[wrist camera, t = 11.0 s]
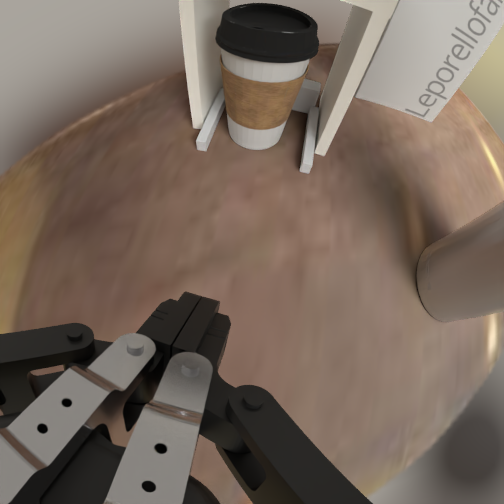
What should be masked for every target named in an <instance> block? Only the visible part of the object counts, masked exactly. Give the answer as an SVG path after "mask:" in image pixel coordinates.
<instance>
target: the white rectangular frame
mask: <svg viewBox="0 0 504 504" xmlns="http://www.w3.org/2000/svg"><path fill="white" fill-rule="evenodd" d="M341 1H344V2H347V3H350V4H353V7H352V10H351V13H350V16H349V18H348V21H347V24H346V27H345V30H344V33H343V36H342V39H341V41H340V44H339V47H338V50H337V53H336V56H335V59H334V61H333V64H332V67H331V70H330V73H329V75H328V78H327V81H326V84H325V87H324V89H323V92H322V95H321V98H320V104H319V108H318V107H315V105H316V102H317V99H318V97H319V94H320V87H321V83H319V82H316V81H312V80H308V79H304V81H303V84H302V86H301V88H300V91H299V93H298V95H297V98H296V100H295V103H294V105H293V107H292V110H295V111H299V112H303V113H307V114H308V118H307V125H306V132H305V139H304V145H303V152H302V158H301V164H300V172H304V173H307V174H309V172H310V170H311V168H312V164H313V156H314V153H315V154H318V155H322V156H325V154H326V152H327V150H328V148H329V146H330V144H331V142H332V140H333V138H334V136H335V134H336V131H337V129H338V127H339V125H340V123H341V121H342V119H343V117H344V115H345V113H346V111H347V109H348V107H349V104H350V102H351V100H352V98H353V96H354V94H355V92H356V90H357V88H358V85H359V83H360V81H361V79H362V77H363V75H364V73H365V70H366V68H367V66H368V64H369V62H370V60H371V57H372V55H373V53H374V51H375V49H376V46H377V44H378V42H379V40H380V38H381V35H382V33H383V31H384V29H385V26H386V24H387V22H388V20H389V19H391V16H392V14H393V12H394V10H395V7H396V5H397V3H398V0H341ZM228 9H229V0H179V11H180V22H181V32H182V41H183V51H184V60H185V69H186V77H187V85H188V93H189V101H190V108H191V115H192V122H193V128H196V129H201V131H200V133H199V135H198V138H197V140H196V144H197V150H202V151H207V148H208V146H209V143H210V141H211V138H212V136H213V133H214V131H215V129H216V126H217V124H218V122H219V119H220V117H221V115H222V112H223V110H224V108H225V106H226V104H225V96H224V89H223V81H222V74H221V66H220V55H221V47H219V45H218V44H217V43H216V39H215V37H216V32H217V28H218V27H219V26H220V24H221V18H222V14H223V12H224V11H226V10H228ZM318 112H319V114H318ZM317 122H318V124H317ZM316 131H317V133H316ZM315 140H316V141H315ZM314 148H315V150H314Z"/></svg>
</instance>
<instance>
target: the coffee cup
mask: <svg viewBox="0 0 504 504" xmlns="http://www.w3.org/2000/svg"><path fill="white" fill-rule="evenodd" d="M215 39H216V43H217V44H218V45H219V47H221V55H220V66H221V74H222V81H223V89H224V96H225V104H226V110H227V118H228V128H229V134H230V136H231V138H232V139H233V140H234V142H236V143H237V144H238V145H240V146H242V147H244V148H247V149H252V150H261V149H266V148H269V147H271V146H273V145H275V144H276V143H277V142H278V141H279V139H280V137H281V135H282V132H283V129H284V127H285V124H286V121H287V119H288V117H289V115H290V112H291V110H292V107H293V105H294V103H295V100H296V98H297V95H298V93H299V91H300V88H301V86H302V84H303V81H304V79H305V77H306V74H307V72H308V68H309V65H308V63H309V60H310V59H311V58H312V57H314V56H315V55H316V54H317V52H318V46H319V40H318V38H317V23H316V22H315V21H314V20H313V19H312V18H311V17H310V16H309V15H307V14H305V13H303V12H301V11H299V10H296V9H293V8H290V7H286V6H282V5H277V4H267V3H251V4H244V5H239V6H235V7H232V8H230V9H228V10H226V11H224V12H223V14H222V18H221V24H220V26H219V27H218V28H217V32H216V37H215Z"/></svg>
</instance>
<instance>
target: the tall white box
mask: <svg viewBox="0 0 504 504" xmlns="http://www.w3.org/2000/svg"><path fill="white" fill-rule="evenodd" d="M503 23H504V0H398V3H397V5H396V7H395V10H394V12H393V14H392V16H391V19H389V20H388V22H387V24H386V26H385V29H384V31H383V33H382V35H381V38H380V40H379V42H378V44H377V46H376V49H375V51H374V53H373V55H372V57H371V60H370V62H369V64H368V66H367V68H366V70H365V73H364V75H363V77H362V79H361V83H360V85H359V87H358V90H357V92H356V94H355V97H356V98H360V99H363V100H367V101H371V102H374V103H377V104H381V105H384V106H387V107H390V108H393V109H396V110H399V111H402V112H405V113H408V114H410V115H413V116H416V117H418V118H421V119H424V120H426V121H429V122H432V121H433V120H434V119H435V117H436V116H437V115H438V114H439V112H440V111H441V110H442V108H443V107H444V106H445V105H446V103H447V102H448V101H449V100H450V98H451V97H452V96H453V94H454V93H455V92H456V90H457V89H458V88H459V86H460V85H461V84H462V82H463V81H464V80H465V78H466V77H467V76H468V74H469V73H470V72H471V70H472V69H473V67H474V66H475V65H476V63H477V62H478V61H479V59H480V58H481V56H482V55H483V53H484V52H485V51H486V49H487V48H488V46H489V45H490V43H491V42H492V40H493V39H494V37H495V36H496V34H497V33H498V31H499V30H500V28H501V26H502V25H503Z"/></svg>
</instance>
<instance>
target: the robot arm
mask: <svg viewBox="0 0 504 504" xmlns="http://www.w3.org/2000/svg"><path fill="white" fill-rule="evenodd" d="M417 286H418V292H419V295H420V298H421V301H422V303H423V305H424V307H425V308H426V310H427V311H428V312H429V314H430V315H431V316H433V317H434V318H435V319H437V320H439V321H441V322H451V321H457V320H464V319H469V318H476V317H481V316H486V315H491V314H496V313H500V312H504V201H503V202H501V203H499V204H498V205H496V206H495V207H493V208H492V209H490V210H489V211H487V212H485V213H484V214H482V215H481V216H479V217H477V218H476V219H474V220H472V221H471V222H469V223H468V224H466V225H464V226H462V227H461V228H459V229H457V230H456V231H454V232H452V233H450V234H449V235H447V236H445V237H443V238H442V239H440V240H438V241H436V242H434V243H433V244H431V245H429V246H428V247H427V248H426V249H425V250H424V251H423V253H422V255H421V256H420V259H419V262H418V266H417ZM219 304H220V301H217V300H213V299H210V298H206V297H202V296H199V295H196V294H192V293H189V292H184V293H183V295H182V296H181V297H180V299H179V300H178V301H176V300H173V299H169V300H167V301H165V302H162V303H161V304H160V305H159V306H158V307H157V309H156V310H155V311H154V312H153V313H152V314H151V316H150V317H149V318H148V319H147V320H146V321H145V323H144V324H143V325H142V326H141V327H140V329H139V330H138V331H137V332H136V333H131V334H125V335H123V336H121V337H119V338H118V339H117V340H116V341H115V342H114V343H113V342H106V341H100V340H95V339H94V334H93V331H92V330H91V329H90V328H89V327H88V326H86V325H83V324H80V323H70V324H64V325H58V326H52V327H46V328H40V329H34V330H27V331H20V332H13V333H6V334H0V504H220V503H219V501H218V500H217V498H216V497H215V496H214V495H213V493H212V492H211V491H210V490H209V489H208V488H207V487H206V486H204V485H203V484H202V483H201V482H200V481H198V480H197V479H195V478H194V477H192V476H190V474H191V469H192V464H193V460H194V455H195V451H196V446H197V442H198V437H199V434H200V435H202V436H204V437H205V438H207V439H209V440H210V441H212V442H214V443H215V445H216V448H217V450H218V452H219V454H220V455H221V457H222V458H223V460H224V462H225V463H226V465H227V466H228V468H229V469H230V471H231V472H232V474H233V475H234V477H235V478H236V480H237V481H238V483H239V484H240V486H241V487H242V489H243V490H244V491H245V493H246V494H247V496H248V497H249V498H250V500H251V501H252V502H253V504H373V503H371V502H370V501H369V500H368V499H367V498H366V497H365V496H364V495H363V494H362V493H361V492H360V491H359V490H358V489H357V488H356V487H355V486H354V485H353V484H352V483H351V482H350V481H349V480H348V479H347V478H346V477H345V476H344V475H343V474H342V473H341V472H340V471H339V470H338V469H337V468H336V467H335V466H334V465H333V464H332V463H331V462H330V461H329V460H328V459H327V458H326V457H325V456H324V455H323V454H322V452H321V451H320V450H319V449H318V448H317V447H316V446H315V445H314V444H313V443H312V442H311V440H310V439H309V438H308V437H307V436H306V435H305V434H304V433H303V432H302V430H301V429H300V428H299V427H298V426H297V425H296V424H295V422H294V421H293V420H292V419H291V418H290V417H289V415H288V414H287V413H286V412H285V411H284V409H283V408H282V407H281V406H280V405H279V403H278V402H277V401H276V400H275V399H274V397H273V396H272V395H271V394H270V393H269V392H268V391H266V390H265V389H263V388H261V387H258V386H254V385H242V386H239V387H237V388H235V387H233V386H231V385H229V384H228V383H226V382H225V381H224V380H223V379H222V378H221V377H220V376H219V374H218V369H219V366H220V363H221V360H222V357H223V354H224V351H225V347H226V343H227V338H228V334H229V330H230V326H231V323H230V320H229V317H228V316H227V315H223V314H219V313H218V310H219ZM58 365H63V367H64V370H65V371H61V372H56V373H51V374H45V375H40V376H35V375H33V374H31V373H30V371H32V370H37V369H42V368H48V367H53V366H58Z"/></svg>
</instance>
